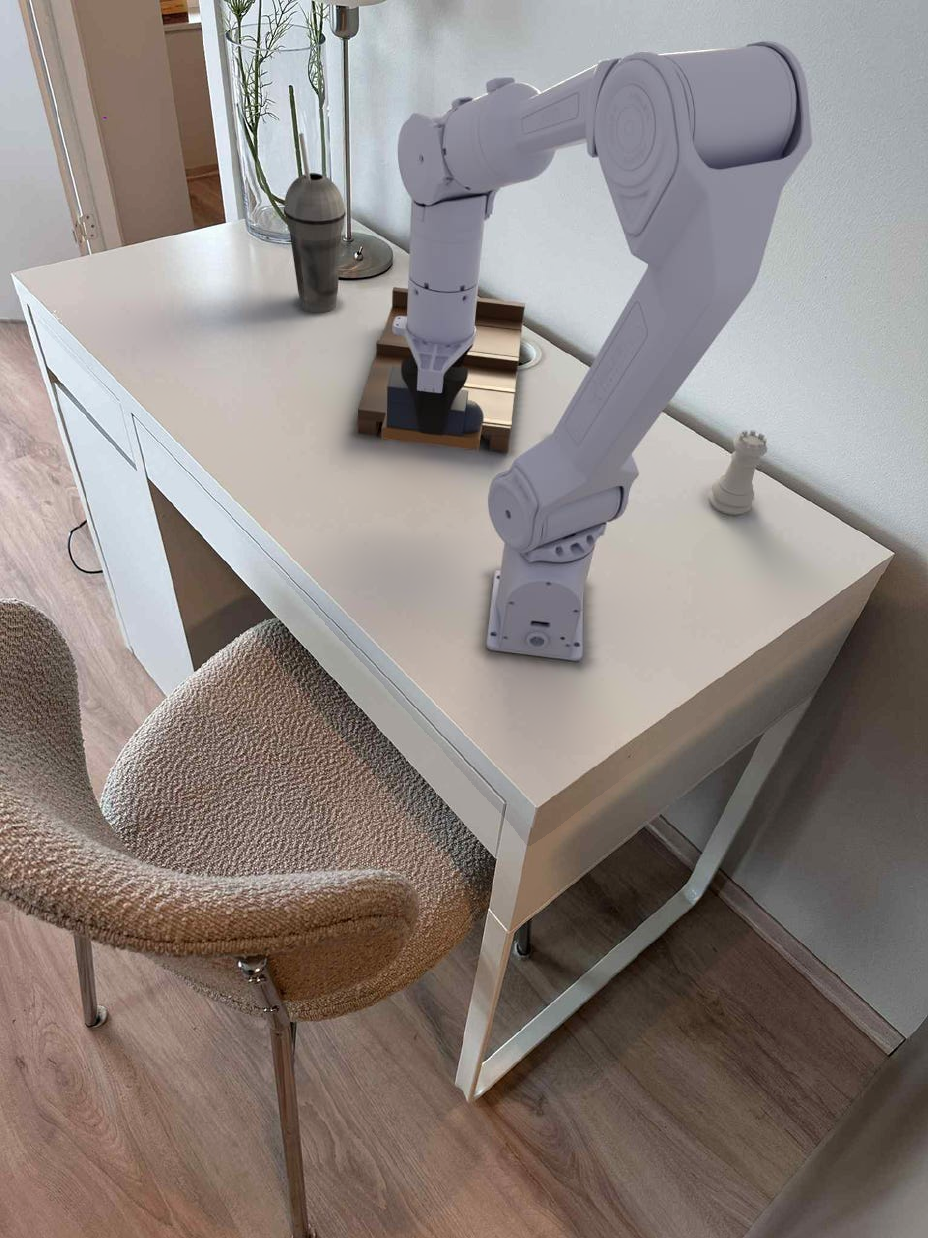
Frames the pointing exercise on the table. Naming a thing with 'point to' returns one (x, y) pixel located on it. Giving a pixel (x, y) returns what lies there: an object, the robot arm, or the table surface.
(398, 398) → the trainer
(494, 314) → the shoe shelf
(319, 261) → the beverage cup
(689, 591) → the table surface
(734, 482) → the rook chess piece
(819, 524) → the table surface
